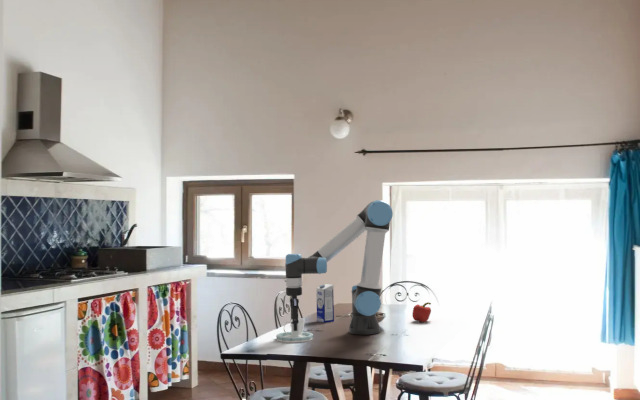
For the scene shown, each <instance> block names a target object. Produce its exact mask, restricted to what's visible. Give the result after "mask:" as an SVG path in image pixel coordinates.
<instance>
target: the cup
mask: <svg viewBox="0 0 640 400" xmlns="http://www.w3.org/2000/svg"><path fill="white" fill-rule="evenodd" d="M298 321H299V322H298V337H302V336H301V335H302V334H303V332H304V330H305V329H304V328H305V321H306V319H304V318H299V317H298ZM291 322H293V319H291V318H290V320H289V321H286V322H285V323H284V325H283V328H285V327H286V325H287V324H290V328H291V329H290V330H292V324H291ZM283 331H284V332H285V333H286V332H287V331H285V329H283ZM284 332H283V333H284ZM286 334H287V335H289V334H288V333H286ZM289 336H291V335H289ZM291 337H292V336H291Z"/></svg>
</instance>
